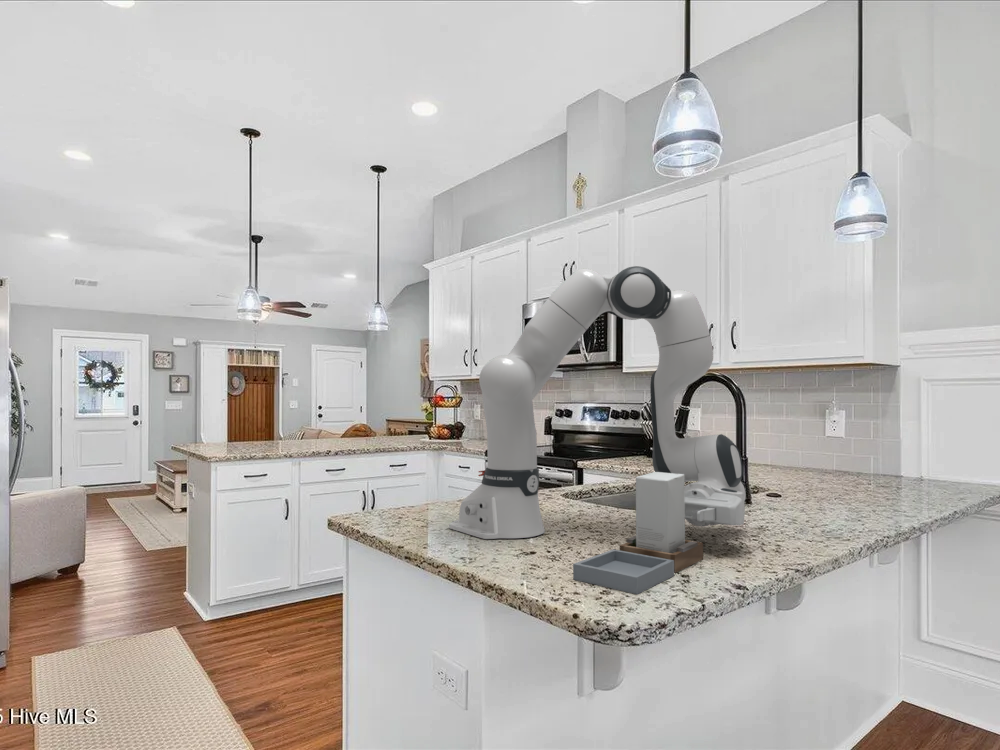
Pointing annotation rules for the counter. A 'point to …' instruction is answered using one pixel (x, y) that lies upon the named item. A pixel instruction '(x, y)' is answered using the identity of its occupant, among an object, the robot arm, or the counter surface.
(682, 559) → the walnut caddy
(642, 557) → the slate tray
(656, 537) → the skincare box
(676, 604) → the counter surface
